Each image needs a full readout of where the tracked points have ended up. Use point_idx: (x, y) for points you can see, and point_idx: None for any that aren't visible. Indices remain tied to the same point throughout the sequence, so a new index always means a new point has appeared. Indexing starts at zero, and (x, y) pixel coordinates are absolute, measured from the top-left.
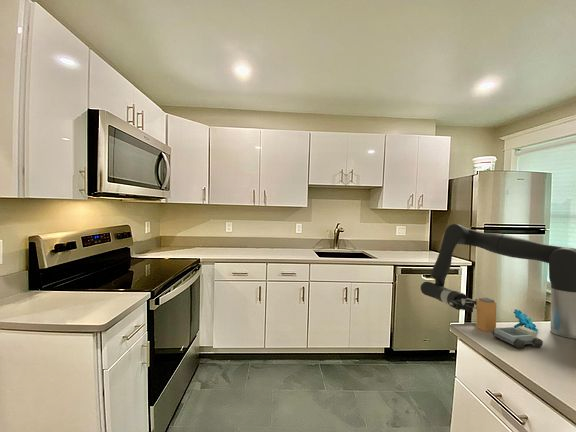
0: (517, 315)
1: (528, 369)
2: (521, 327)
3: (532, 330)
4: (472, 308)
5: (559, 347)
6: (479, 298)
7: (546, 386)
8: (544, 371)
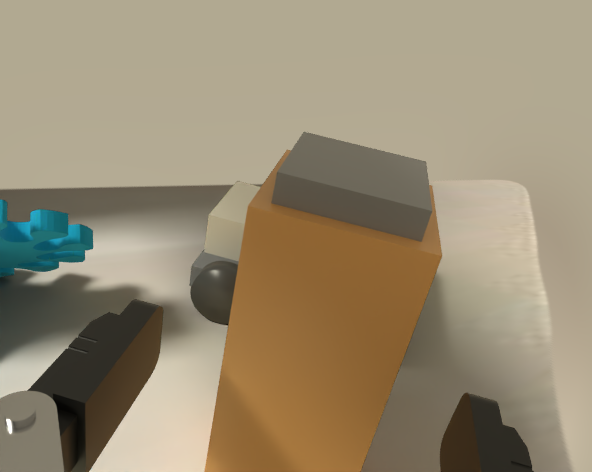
0: (51, 213)
1: (494, 225)
2: (242, 216)
3: (233, 189)
4: (469, 400)
5: (161, 204)
6: (429, 209)
7: (517, 200)
8: (450, 208)
